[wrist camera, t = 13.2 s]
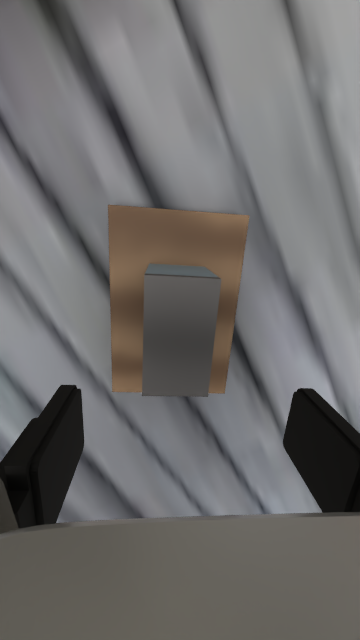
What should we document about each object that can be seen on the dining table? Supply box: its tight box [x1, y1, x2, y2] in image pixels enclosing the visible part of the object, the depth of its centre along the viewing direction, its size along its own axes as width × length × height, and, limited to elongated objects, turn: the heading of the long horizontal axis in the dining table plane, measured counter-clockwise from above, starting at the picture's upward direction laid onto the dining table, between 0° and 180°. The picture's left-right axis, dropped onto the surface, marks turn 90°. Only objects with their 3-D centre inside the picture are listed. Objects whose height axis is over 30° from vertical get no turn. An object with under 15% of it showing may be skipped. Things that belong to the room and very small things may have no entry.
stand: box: [108, 205, 249, 393], centre depth 26 cm, size 18×12×3 cm, turn 176°
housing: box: [142, 264, 221, 397], centre depth 21 cm, size 5×9×7 cm, turn 176°
